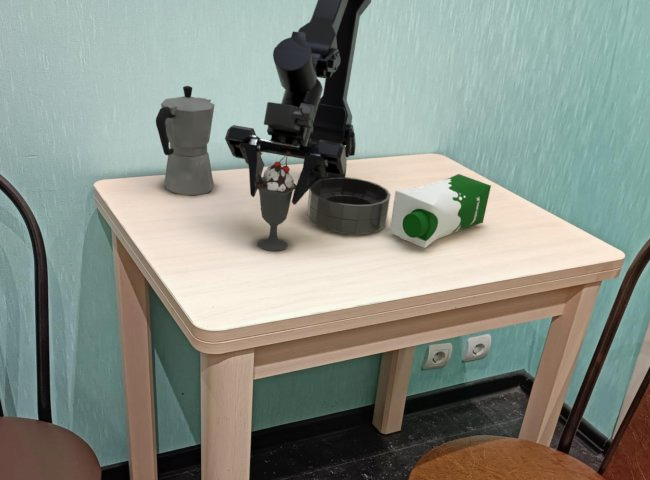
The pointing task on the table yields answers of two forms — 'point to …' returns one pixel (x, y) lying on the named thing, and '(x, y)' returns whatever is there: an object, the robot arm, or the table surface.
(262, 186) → the sundae
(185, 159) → the coffeepot
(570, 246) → the table surface
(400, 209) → the milk carton
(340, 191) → the bowl
